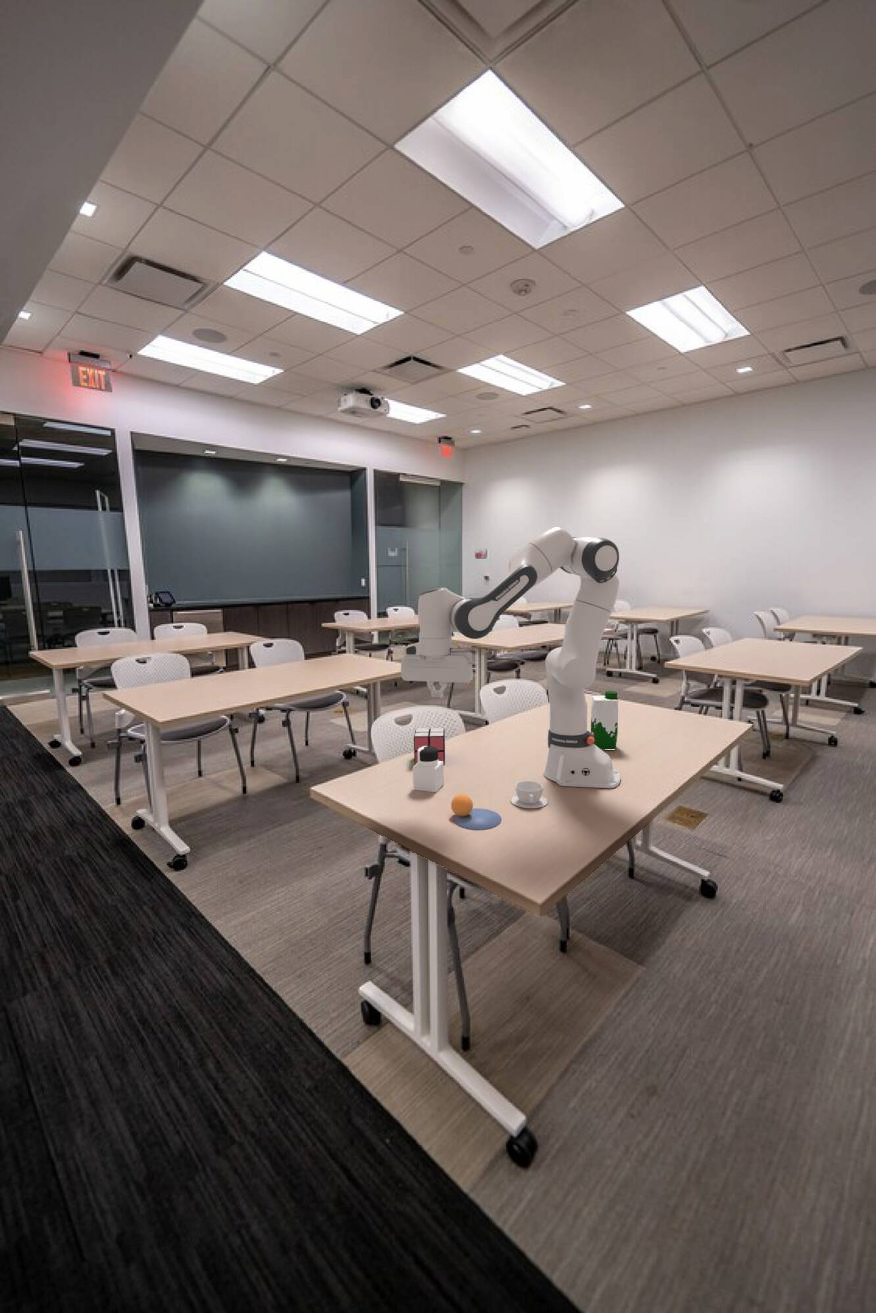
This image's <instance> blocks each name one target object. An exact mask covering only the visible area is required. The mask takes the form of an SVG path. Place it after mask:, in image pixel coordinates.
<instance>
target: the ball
mask: <svg viewBox="0 0 876 1313" xmlns="http://www.w3.org/2000/svg"><path fill="white" fill-rule="evenodd" d="M450 803H451V806H450V807H451V810H452V813H454V815H457V816H460V817H464V816H467V815H469V814H470V813H471V811H472V809H474V802H473V800H472V799H471V797H470V796H469V795H467V794H464V793H459V794H457V795H455V796H454V797H453V798H452V800H451V802H450Z"/></svg>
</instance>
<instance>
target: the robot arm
mask: <svg viewBox="0 0 876 1313" xmlns="http://www.w3.org/2000/svg"><path fill="white" fill-rule="evenodd" d="M619 561H620V551H619V548H618V546H617V544H616V543H615V542H613V541H612V540H609V539H608V538H604V537H595V536H581V537H573V536H572V534H571V533H570V532H569V531H568V530H567V529H565V528H563V527H559V526H555V527H554V526H553V527H551V528H549V529H547V530H545V531H543V532H541V533H540V534H538V535H536V536H535V537H534V538H532V539H531V540H529V541H528V542H526V543H525V544H524V545H522V547H520V548H519V549H518V550H517V551H516V552H515V553H514V555H513V556H512V557H511V558H510V559H509V561H508V574H507V575H506V577H505V578H504V579H503V580H502V581H501V582H499V583H498V584H497V585H496V586H494V587H493V588H492V589H491V590H490V591H489V592H488V593H486V594H485V595H483V596H482V597H479V598H474V599H471V598H467V597H464V596H461V595H459V594H456V593H455V592H452V591H451V590H450V589H448V588H447V587H444V586H440V587H439V586H438V587H434V588H433V587H432V588H430V589H427V590H424V591H423V592H422V593H420V594H419V597H418V603H417V618H418V619H417V620H418V625H419V634H418V642H414V643H412V644H410V645H407V646H405V647H403V648H402V654H403V657H402V658H401V662H400V663H401V664H400V677H401V679H402V680H403V681H407V682H426V686H427V688H428V689H429V691H430V692H431V694H430V696H431V698H437V699H442V698H444V691H445V689H446V687H447V686H448V683H461V684H464V683H465V684H467V683H470V682H471V681H472V680H473V679H474V673H473V672H474V671H473V665H472V664H473V663H472V662H473V654H472V651H471V650H469V649H468V648H466V647H463V648H462V647H459V648H458V647H453V646H452V634H453V633H459V634H460V635H463V636H464V637H466V638H468V639H472V640H477V639H478V640H479V639H482V638H484V637H486V636H488V634H489V633H490V632H491V631H492V630H493V629H494V628H495V625H496V623H497V622H498V619H499V618H500V617H501V615H503V613H504V612H505V611H506V610H508V609H509V608H510V607H511V606H512V605H514V604H515V602H517V601H518V600H519V599H520V598H522V596H524V595H525V594H526V593H527V592H528V591H529V590H531V589H533V588H534V587H536V586H537V585H539V584H540V583H542V582H544V581H545V580H547V578H549V577H550V576H551V575H553V574H554V573H555V572H556V571H557V570H558V569H560V570H562V571H564V572H565V573H567V574H573V575H575V576H579V577H580V578H579V579H580V585H579V590H578V592H577V594H576V597H575V599H574V602H573V604H572V607H571V609H570V611H569V614H568V618H566V619H567V620H566V623H565V626H564V627H565V628H564V635H563V641H562V645H561V646H560V647H556V648H554V649H552V650H550V651H549V652H548V654H547V655H546V657H545V661H544V663H545V673H546V685H547V693H548V694H547V695H548V702H549V729H548V730H547V747H548V754H547V760H546V764H545V768H544V771H543V776H544V777H545V778H546V779H548V780H550V781H552V782H555V783H556V784H558V785H559V786H562V787H578V788H579V787H580V788H598V789H600V788H601V789H603V788H604V789H613V788H616V787H617V786H619V785H620V783H621V781H620V780H621V774H620V773H619V771H618V770H616V769H614V766H613V762H612V759H611V757H610V755H609V754H607V753H606V752H605V750H601V749H600V748H598V747H597V746H596V745H595V744H593V743H594V735H593V732H592V733H591V731H589V730H588V703H587V700H586V694H585V689H587V688H589V687H590V686H592V684H593V683H594V681H595V680H596V675H597V670H596V668H597V667H596V666H597V662H598V657H599V652H600V647H601V642H602V638H603V636H604V635H603V634H604V633H605V630H606V628H607V625H608V622H609V619H610V617H611V615H612V612H613V609H614V608H615V607H614V606H615V604H616V600H617V596H618V592H619V587H620V581H619V578H618V576H617V575H616V573H618V572H617V571H618V567H619V563H620V562H619ZM435 682H436V683H438V684H439V686H441V687H440V689H439V690H438V689H437V690H436V687H435V686H434V685H435Z"/></svg>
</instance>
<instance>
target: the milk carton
mask: <svg viewBox="0 0 876 1313" xmlns="http://www.w3.org/2000/svg"><path fill="white" fill-rule="evenodd" d="M618 698H619V697H618V691H615V690H614V691H612V690H610V691H609V690H607V691H605V694H604V695H601V694H600V695H592V698H591V699H592V700H591V705H590V706H591V707H590V709H591V710H590V733H592V732H593V735H594V743H593V744H595V745H596V746H597V747H598V748H600V749H615V748H617V742H618V741H617V740H618V733H619V732H618V731H619V730H618V728H619V727H618V726H619V701H618V700H619V699H618Z"/></svg>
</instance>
